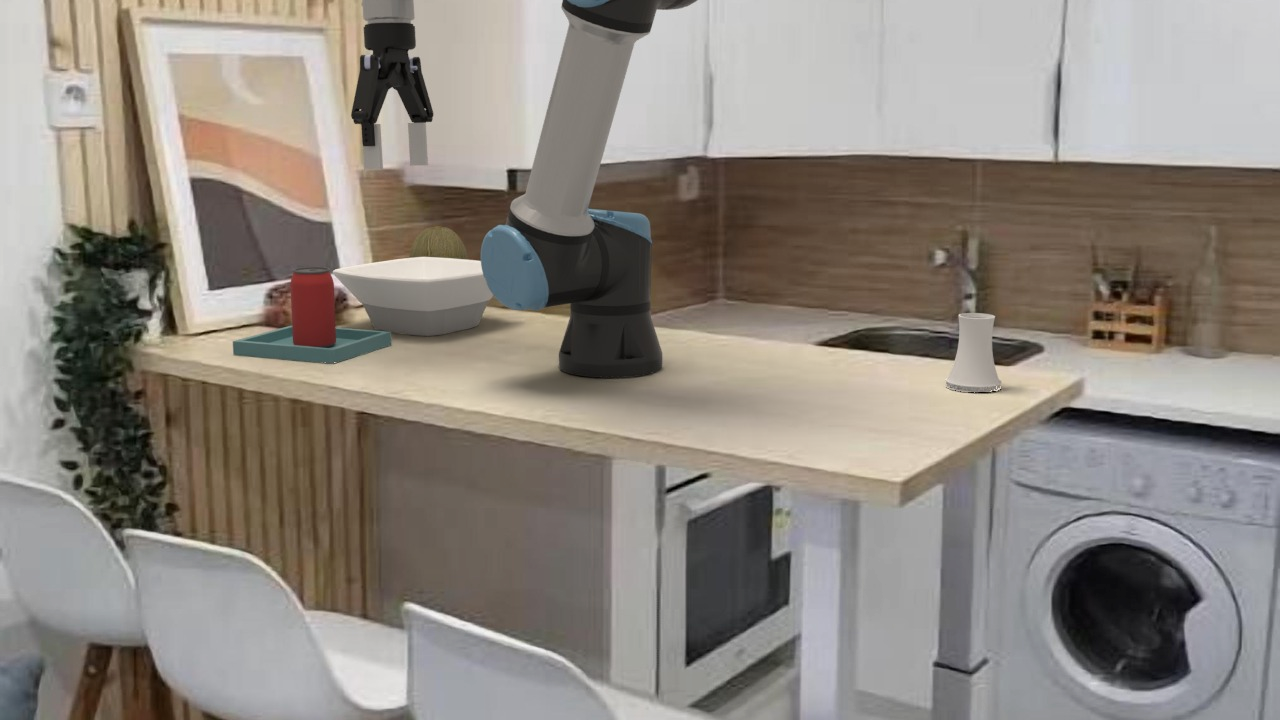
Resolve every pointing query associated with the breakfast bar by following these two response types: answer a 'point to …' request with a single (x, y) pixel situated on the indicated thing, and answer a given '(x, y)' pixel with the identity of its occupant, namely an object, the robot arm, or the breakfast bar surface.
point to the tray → (283, 347)
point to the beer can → (313, 307)
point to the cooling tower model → (974, 356)
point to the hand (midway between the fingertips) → (397, 167)
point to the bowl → (419, 294)
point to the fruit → (438, 244)
